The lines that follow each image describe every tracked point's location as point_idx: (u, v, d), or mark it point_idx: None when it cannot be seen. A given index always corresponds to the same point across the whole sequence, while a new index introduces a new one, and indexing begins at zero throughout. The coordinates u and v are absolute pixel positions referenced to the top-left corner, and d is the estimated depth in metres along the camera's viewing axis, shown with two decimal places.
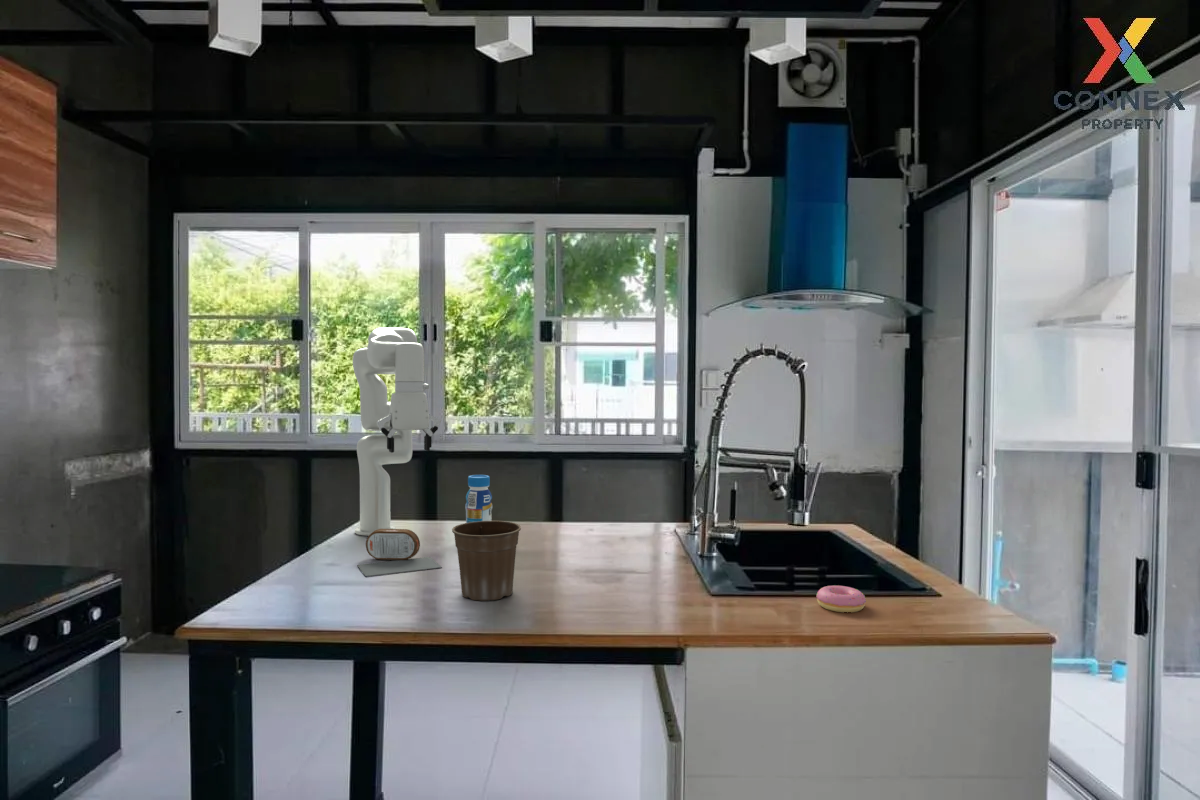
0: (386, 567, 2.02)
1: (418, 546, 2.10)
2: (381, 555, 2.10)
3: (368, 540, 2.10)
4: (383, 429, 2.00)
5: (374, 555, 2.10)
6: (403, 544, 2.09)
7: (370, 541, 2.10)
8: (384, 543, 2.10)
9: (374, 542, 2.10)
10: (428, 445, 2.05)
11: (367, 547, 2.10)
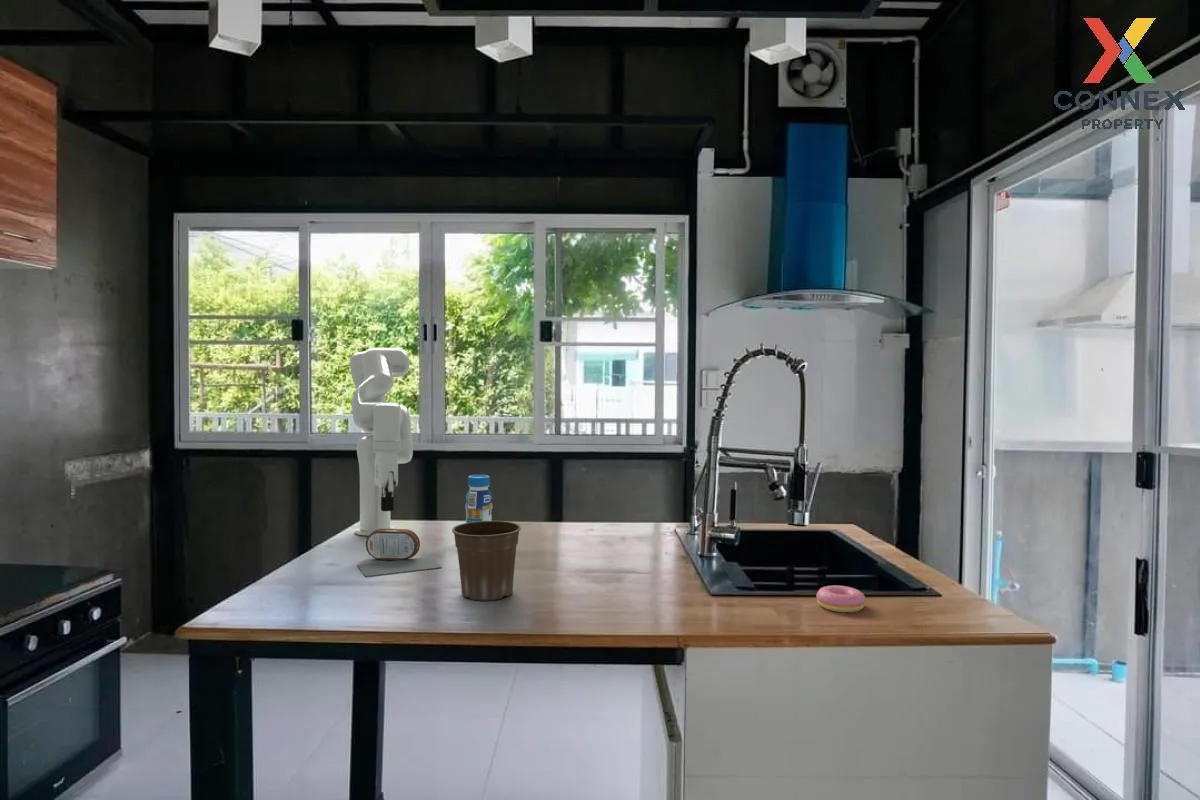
0: (386, 567, 2.02)
1: (418, 546, 2.10)
2: (381, 555, 2.10)
3: (368, 540, 2.10)
4: None
5: (374, 555, 2.10)
6: (403, 544, 2.09)
7: (370, 541, 2.10)
8: (384, 543, 2.10)
9: (374, 542, 2.10)
10: None
11: (367, 547, 2.10)
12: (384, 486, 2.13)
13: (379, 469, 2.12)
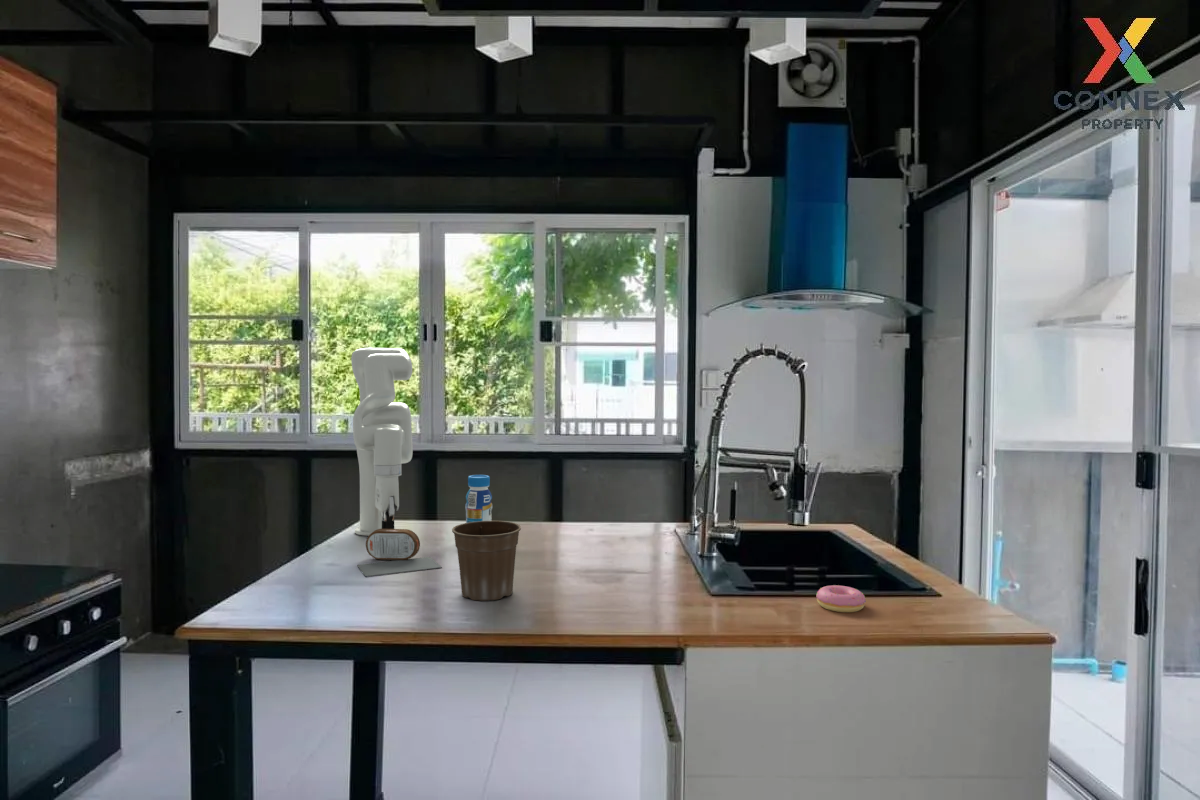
0: (386, 567, 2.02)
1: (418, 546, 2.10)
2: (381, 555, 2.10)
3: (368, 540, 2.10)
4: None
5: (374, 555, 2.10)
6: (403, 544, 2.09)
7: (370, 541, 2.10)
8: (384, 543, 2.10)
9: (374, 542, 2.10)
10: None
11: (367, 547, 2.10)
12: (385, 510, 2.13)
13: (380, 493, 2.11)
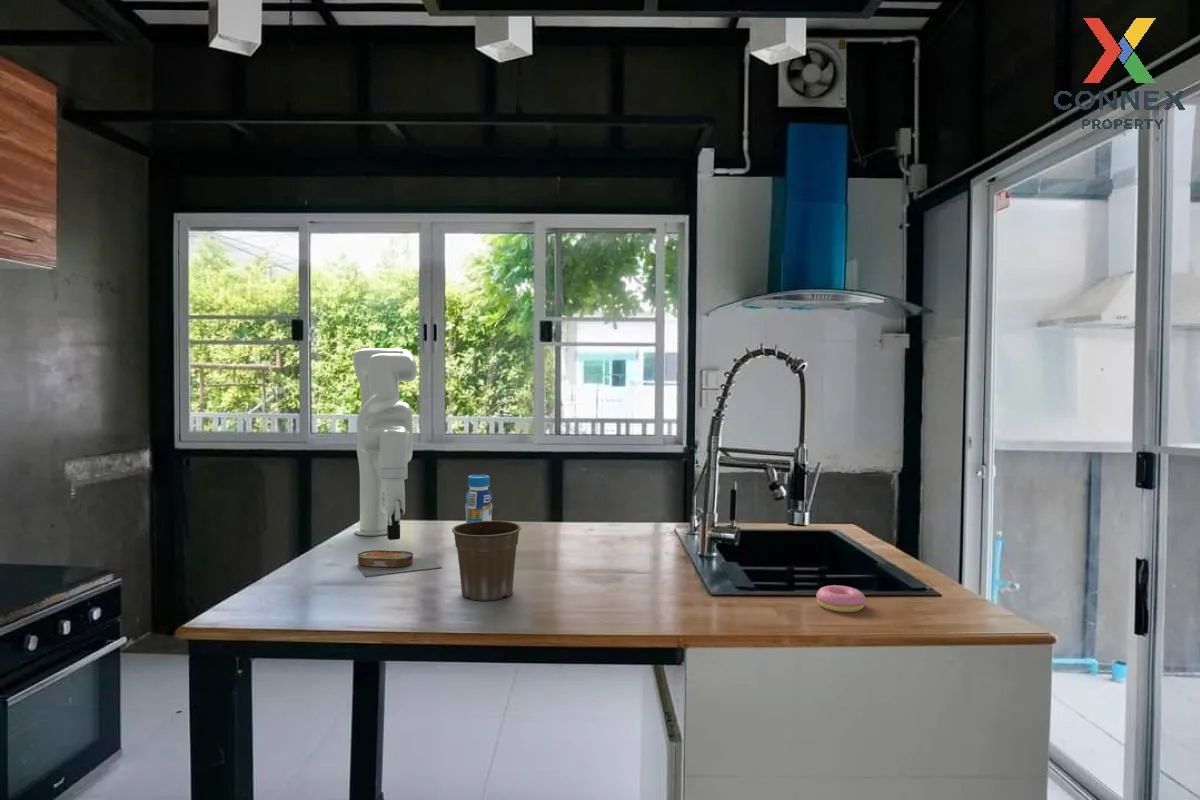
0: None
1: (412, 558, 2.05)
2: None
3: None
4: None
5: None
6: None
7: None
8: None
9: None
10: None
11: None
12: (391, 514, 2.06)
13: (385, 497, 2.05)
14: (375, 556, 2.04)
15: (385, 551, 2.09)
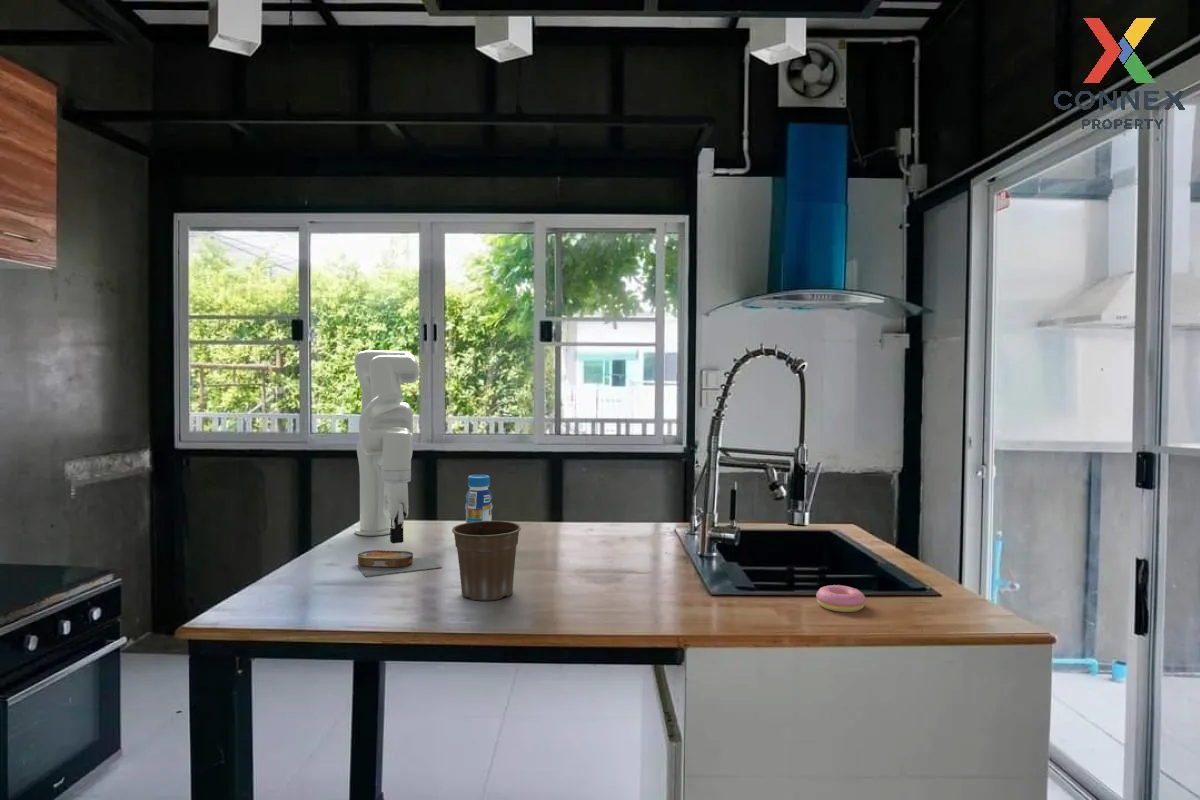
0: None
1: (412, 558, 2.05)
2: None
3: None
4: None
5: None
6: None
7: None
8: None
9: None
10: None
11: None
12: (394, 517, 2.03)
13: (388, 500, 2.02)
14: (375, 556, 2.04)
15: (385, 551, 2.09)
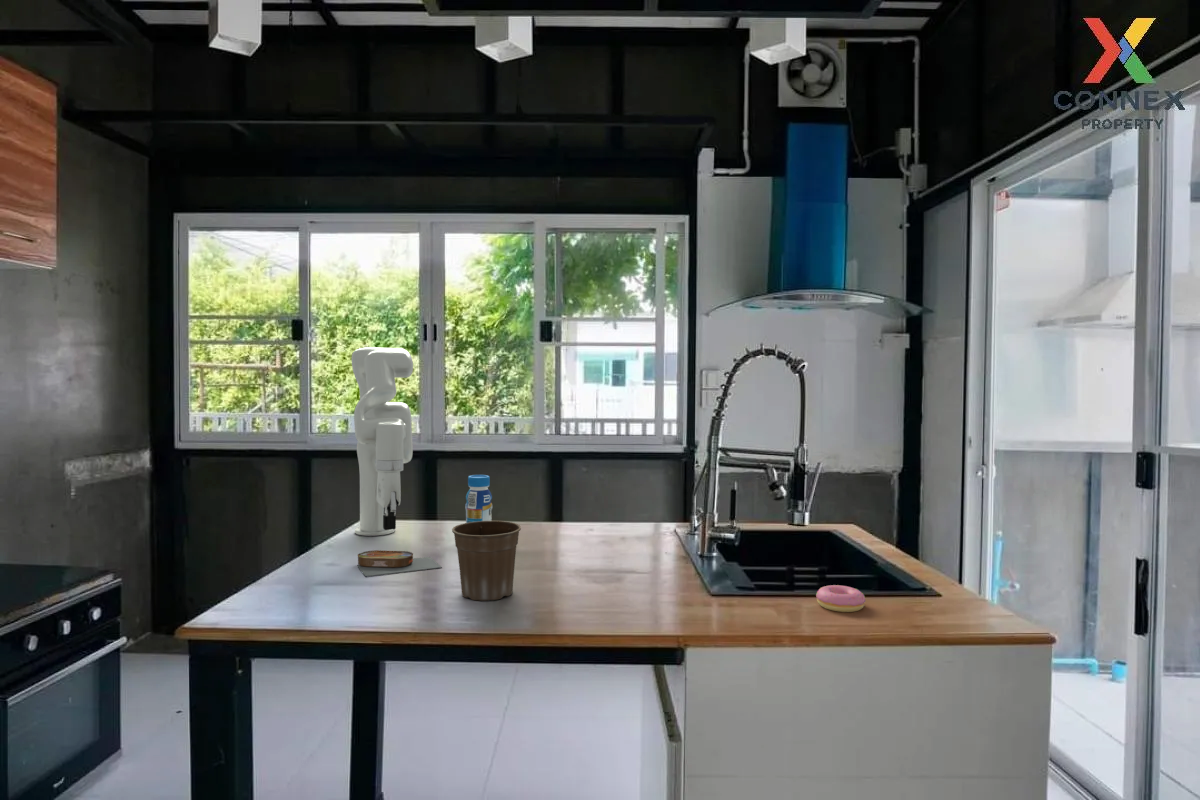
0: None
1: (412, 558, 2.05)
2: None
3: None
4: None
5: None
6: None
7: None
8: None
9: None
10: None
11: None
12: (386, 505, 2.11)
13: (381, 489, 2.09)
14: (375, 556, 2.04)
15: (385, 551, 2.09)
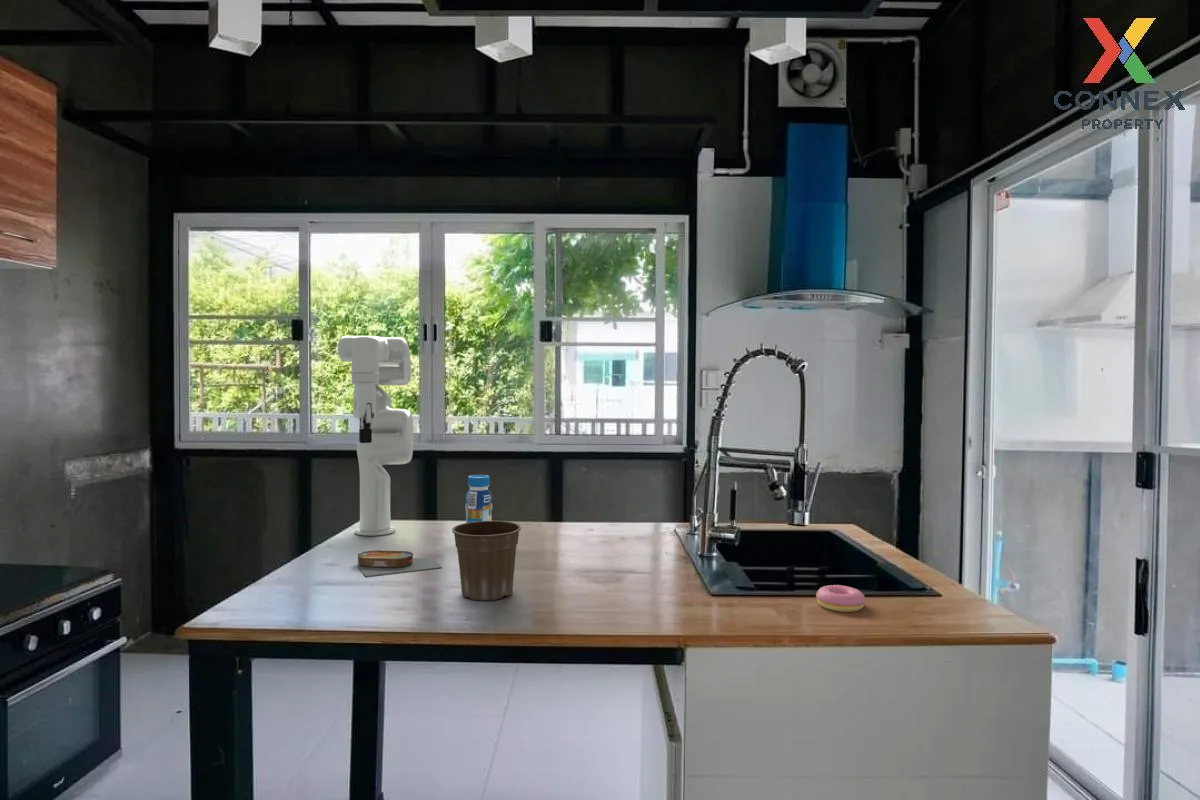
0: None
1: (412, 558, 2.05)
2: None
3: None
4: (370, 421, 2.15)
5: None
6: None
7: None
8: None
9: None
10: None
11: None
12: (362, 418, 2.15)
13: (357, 400, 2.13)
14: (375, 556, 2.04)
15: (385, 551, 2.09)
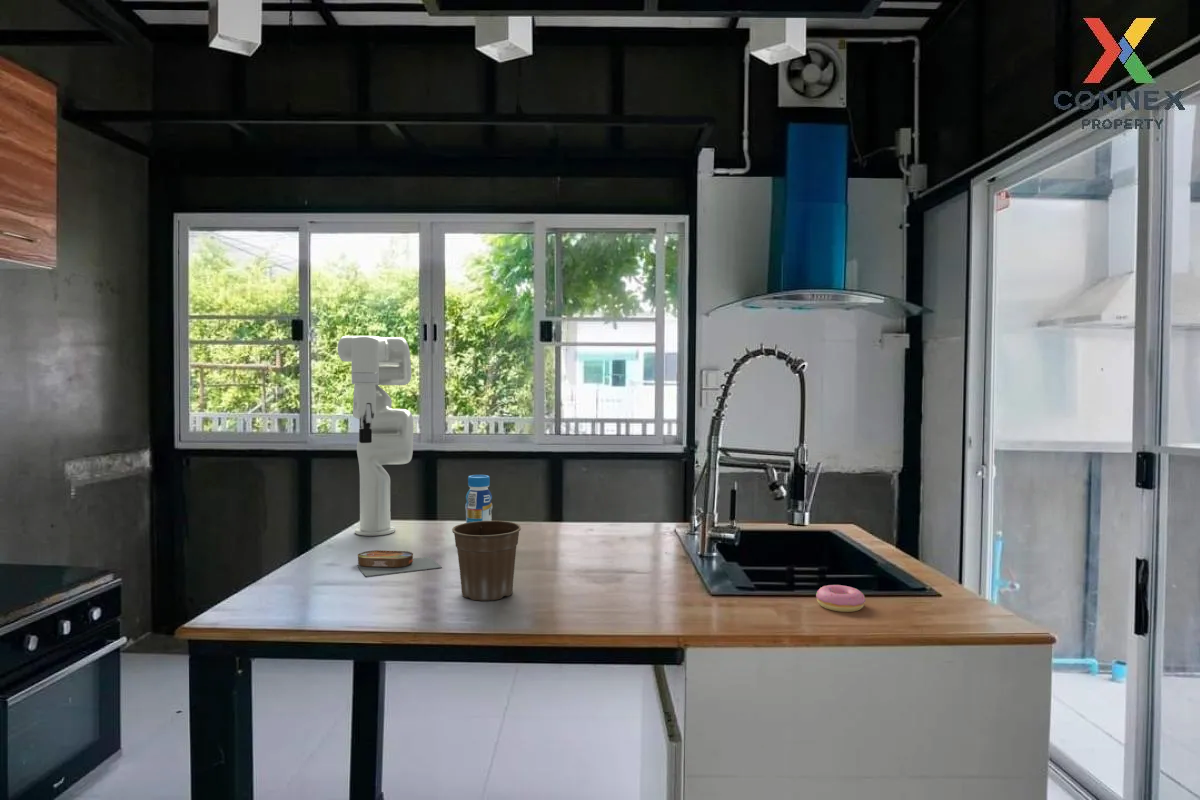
0: None
1: (412, 558, 2.05)
2: None
3: None
4: (370, 421, 2.15)
5: None
6: None
7: None
8: None
9: None
10: None
11: None
12: (362, 418, 2.15)
13: (357, 400, 2.13)
14: (375, 556, 2.04)
15: (385, 551, 2.09)
